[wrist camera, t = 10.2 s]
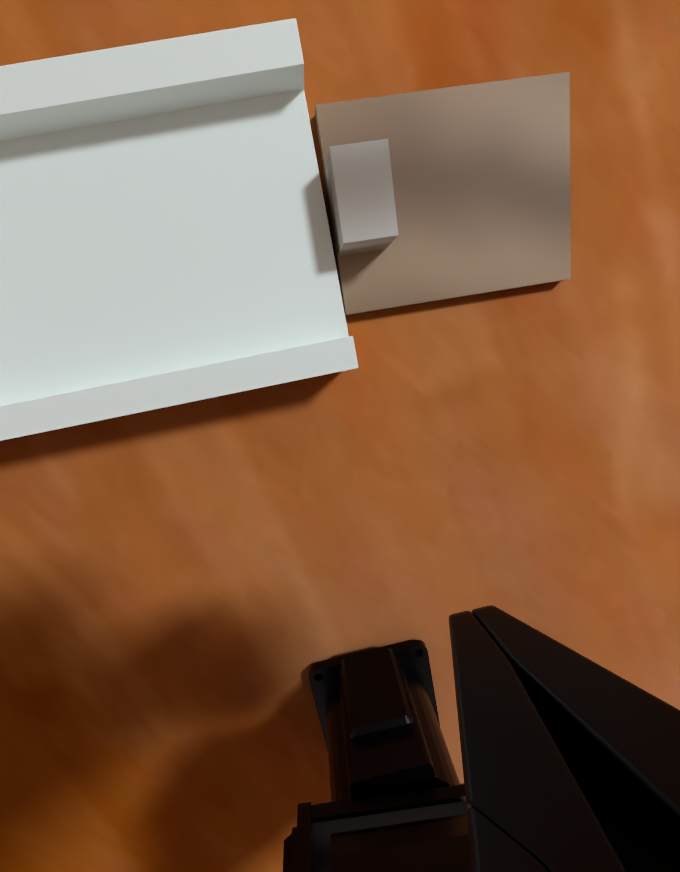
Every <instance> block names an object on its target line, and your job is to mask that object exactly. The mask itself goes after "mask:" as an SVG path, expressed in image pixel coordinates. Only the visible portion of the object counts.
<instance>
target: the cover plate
mask: <svg viewBox="0 0 680 872" xmlns="http://www.w3.org/2000/svg"><path fill="white" fill-rule="evenodd" d="M315 119H316V126H317V133H318V140H319V146H320V153H321V160H322V167H323V173H324V180H325V187H326V194H327V200H328V207H329V214H330V221H331V228H332V234H333V241H334V248H335V255H336V261H337V268H338V275H339V282H340V288H341V295H342V302H343V307H344V313H345V315H351V314H358V313H364V312H370V311H376V310H383V309H389V308H395V307H401V306H408V305H414V304H420V303H426V302H433V301H439V300H445V299H451V298H458V297H464V296H470V295H476V294H483V293H489V292H495V291H501V290H508V289H514V288H520V287H526V286H533V285H539V284H545V283H551V282H558V281H563V280H567V279H571V214H570V72H564V73H556V74H549V75H541V76H533V77H525V78H518V79H510V80H502V81H494V82H487V83H479V84H471V85H464V86H456V87H448V88H440V89H433V90H425V91H417V92H409V93H402V94H394V95H386V96H379V97H371V98H363V99H355V100H348V101H340V102H332V103H324V104H317V105H316V106H315Z"/></svg>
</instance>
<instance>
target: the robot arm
mask: <svg viewBox="0 0 680 872" xmlns="http://www.w3.org/2000/svg"><path fill="white" fill-rule="evenodd" d="M449 627H450V637H451V648H452V658H453V669H454V679H455V690H456V700H457V711H458V721H459V732H460V742H461V753H462V763H463V774H464V783H463V784H460V783H459V780H458V777H457V774H456V771H455V768H454V766H453V763H452V760H451V757H450V754H449V752H448V749H447V746H446V743H445V740H444V738H443V735H442V732H441V729H440V724H439V718H438V712H437V706H436V700H435V693H434V687H433V681H432V675H431V669H430V663H429V657H428V651H427V649H426V646H425V644H424V642H423V641H421V640H413V641H409V642H405V643H401V644H397V645H392V646H388V647H384V648H380V649H375V650H371V651H367V652H363V653H359V654H354V655H350V656H346V657H342V658H337V659H333V660H329V661H325V662H321V663H316V664H314V665H312V666H311V667H310V669H309V680H310V684H311V688H312V692H313V696H314V699H315V703H316V707H317V711H318V715H319V718H320V722H321V726H322V730H323V734H324V737H325V741H326V745H327V749H328V754H329V770H330V786H331V802H328V803H321V804H314V805H311V802H308V803H300V804H298V815H297V827H294V828H292V834H291V835H290V836H288V837H287V838H286V839H285V840H284V856H283V872H680V710H678V709H677V708H675V707H673V706H671V705H670V704H668V703H666V702H664V701H662V700H661V699H659V698H657V697H655V696H653V695H652V694H650V693H648V692H646V691H645V690H643V689H641V688H639V687H637V686H636V685H634V684H632V683H630V682H629V681H627V680H625V679H623V678H621V677H620V676H618V675H616V674H614V673H613V672H611V671H609V670H607V669H605V668H604V667H602V666H600V665H598V664H597V663H595V662H593V661H591V660H589V659H588V658H586V657H584V656H582V655H581V654H579V653H577V652H575V651H573V650H572V649H570V648H568V647H566V646H564V645H563V644H561V643H559V642H557V641H556V640H554V639H552V638H550V637H548V636H547V635H545V634H543V633H541V632H540V631H538V630H536V629H534V628H532V627H531V626H529V625H527V624H525V623H524V622H522V621H520V620H518V619H516V618H515V617H513V616H511V615H509V614H508V613H506V612H504V611H502V610H500V609H499V608H497V607H495V606H485V607H481V608H477V609H473V610H472V612H469V611H464V612H460V613H455V614H451V615H450V616H449ZM417 649H420V650H419V651H416V650H417ZM317 673H321V674H320V675H316V674H317Z"/></svg>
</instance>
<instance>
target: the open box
mask: <svg viewBox="0 0 680 872" xmlns="http://www.w3.org/2000/svg"><path fill="white" fill-rule="evenodd" d="M355 368H358V362H357V357H356V351H355V345H354V340H353V336H349V335H348V329H347V324H346V318H345V313H344V307H343V302H342V296H341V291H340V285H339V280H338V274H337V269H336V263H335V258H334V252H333V247H332V241H331V236H330V230H329V225H328V219H327V214H326V208H325V203H324V197H323V192H322V186H321V181H320V175H319V170H318V164H317V159H316V153H315V148H314V142H313V137H312V131H311V125H310V120H309V114H308V109H307V103H306V98H305V92H304V61H303V55H302V50H301V44H300V38H299V33H298V27H297V22H296V18H294V19H287V20H281V21H275V22H269V23H263V24H257V25H251V26H244V27H238V28H232V29H226V30H220V31H214V32H207V33H201V34H195V35H189V36H183V37H177V38H171V39H164V40H158V41H152V42H146V43H140V44H134V45H128V46H121V47H115V48H109V49H103V50H97V51H91V52H84V53H78V54H72V55H66V56H60V57H54V58H48V59H41V60H35V61H29V62H23V63H17V64H11V65H4V66H0V441H2V440H7V439H12V438H17V437H22V436H27V435H32V434H36V433H41V432H46V431H51V430H56V429H61V428H66V427H71V426H76V425H81V424H86V423H90V422H95V421H100V420H105V419H110V418H115V417H120V416H125V415H130V414H135V413H140V412H144V411H149V410H154V409H159V408H164V407H169V406H174V405H179V404H184V403H189V402H193V401H198V400H203V399H208V398H213V397H218V396H223V395H228V394H233V393H238V392H243V391H247V390H252V389H257V388H262V387H267V386H272V385H277V384H282V383H287V382H292V381H296V380H301V379H306V378H311V377H316V376H321V375H326V374H331V373H336V372H341V371H346V370H350V369H355Z"/></svg>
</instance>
